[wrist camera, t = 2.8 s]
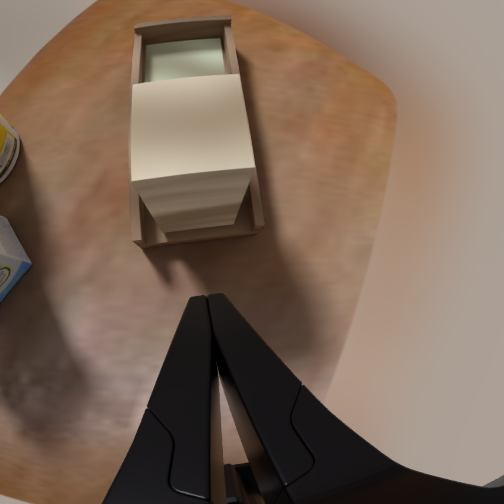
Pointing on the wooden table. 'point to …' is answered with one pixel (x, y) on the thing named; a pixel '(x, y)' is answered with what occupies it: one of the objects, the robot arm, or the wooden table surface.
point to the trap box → (181, 66)
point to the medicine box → (10, 258)
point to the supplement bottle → (7, 147)
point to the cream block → (191, 150)
